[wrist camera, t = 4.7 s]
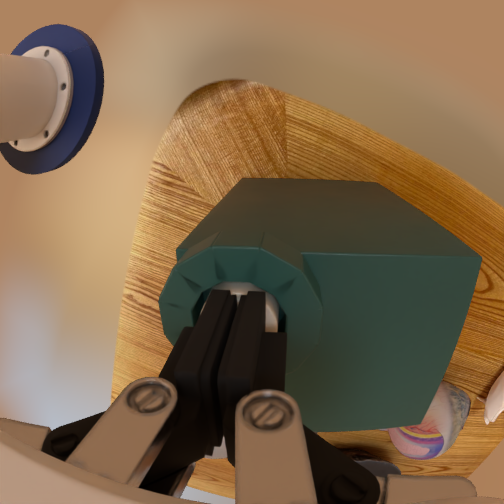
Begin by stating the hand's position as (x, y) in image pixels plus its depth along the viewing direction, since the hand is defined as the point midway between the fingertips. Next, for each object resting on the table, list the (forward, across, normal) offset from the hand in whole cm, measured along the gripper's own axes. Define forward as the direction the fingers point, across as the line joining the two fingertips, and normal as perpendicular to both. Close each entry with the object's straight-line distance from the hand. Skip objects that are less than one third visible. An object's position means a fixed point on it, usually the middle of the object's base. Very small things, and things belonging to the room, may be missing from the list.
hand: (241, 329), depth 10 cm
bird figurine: (+20, -34, +23) cm, 46 cm away
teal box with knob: (+19, -3, +3) cm, 20 cm away
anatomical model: (+20, -19, +24) cm, 36 cm away
